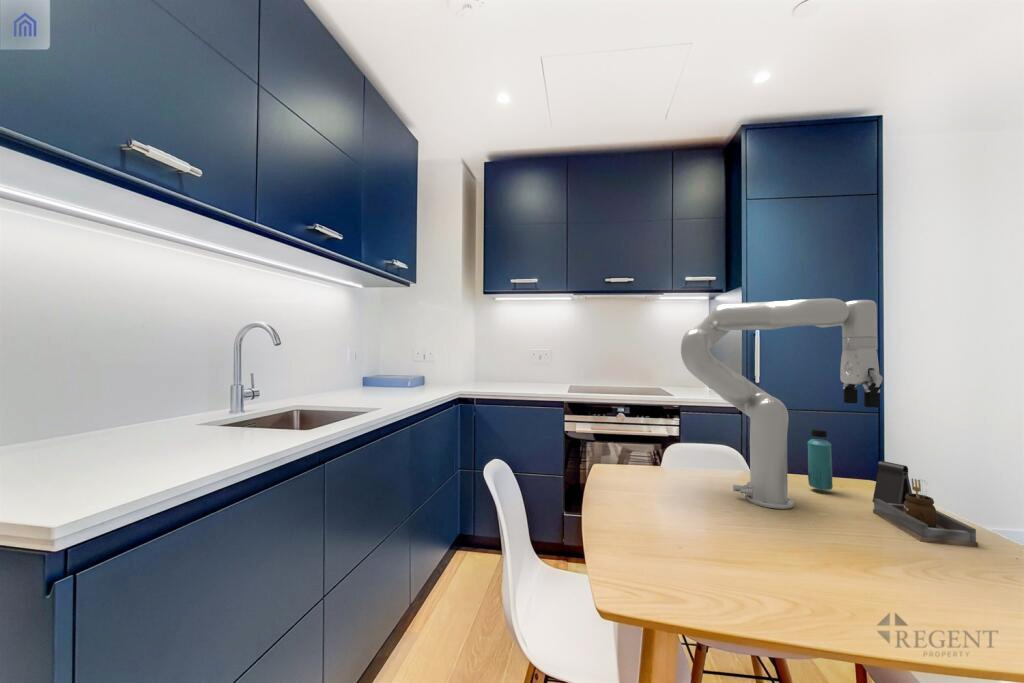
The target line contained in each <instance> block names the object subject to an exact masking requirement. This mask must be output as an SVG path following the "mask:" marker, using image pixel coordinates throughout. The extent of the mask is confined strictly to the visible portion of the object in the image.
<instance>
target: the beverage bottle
mask: <svg viewBox="0 0 1024 683" xmlns="http://www.w3.org/2000/svg"><path fill="white" fill-rule="evenodd" d="M810 432H811V433H810V436H811V437H815V438H811V439H809V440H808V441H807V469H808V470H807V481H808V486H810V487H811V488H813V489H818V490H822V491H823V490H825V491H830V490H832V489H833V487H834V486H833V485H834V484H833V475H834V474H833V472H834V471H833V461H832V460H833V459H832V444H831V443H830V442H829V441H828V440H825V439H820V438H827V437H828V435H827V430H825V429H819V428H812V429H811V431H810ZM816 437H817V438H816Z"/></svg>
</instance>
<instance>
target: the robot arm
mask: <svg viewBox="0 0 1024 683" xmlns="http://www.w3.org/2000/svg"><path fill="white" fill-rule="evenodd" d="M877 314H878V308H877V303H876V301H874V300H871V299H856V300H849V301H843V300H842V299H838V298H835V297H834V298H829V297H828V298H808V299H807V298H806V299H805V298H804V299H792V300H772V301H755V302H754V301H752V302H731V303H730V302H729V303H721V304H718V305H717V306H715V307H714V308H713V309H712V311H711V313H710V314H708V315H707V316H706V317H705V318H704V319H703V320H702V321H700V322H699V323H698V324H697V325H696V326H694V327H693V328H691V329H689V330H688V331H686V332H685V333H684V334H683V337H682V340H681V345H680V346H681V347H680V355H681V359H682V362H683V364H684V366H685V367H686V369H687V370H688V371H689V373H691V374H692V375H693V376H694V377H695V378H696V379H697V380H698V381H700V382H701V383H703V384H704V385H706V386H707V387H708V388H710V389H711V391H713V392H715V393H716V394H717V395H718V396H719V397H721V399H723V400H724V401H725V402H728V403H729V404H730V405H732V406H733V407H735V409H737V410H739V411H740V412H742V413H743V414H745V415H746V416H748V417H749V419H750V420H749V423H750V424H749V467H750V468H749V474H750V475H749V477H750V478H749V479H750V480H749V481H747V482H746V484H744V485H740V484H733V485H732V491H733V492H739V493H740V494H743V495H744V498H745V500H746V501H748V502H750V503H752V504H755V505H757V506H761V507H765V508H770V509H779V510H780V509H781V510H787V509H791V508H794V507H795V501H794V500H793V499H792V498H790V497H789V496H788V489H789V488H788V430H789V429H788V428H789V412H788V409H787V407H786V405H785V404H784V403H783V402H782V401H781V400H780V399H778V398H777V397H775V396H772V395H770V394H769V393H768V392H766V391H764V390H763V389H762V388H760V387H759V386H757V385H756V384H754V383H753V382H752V381H750V380H749V379H748V378H747V377H746V376H744V375H742V374H739V373H738V372H736V371H734V370H733V369H731V368H730V367H729V366H727V365H725V364H724V363H723V362H721V361H720V360H719V359H717V358H716V357H714V355H713V354H712V353H711V351H710V350H711V349H710V348H712V347H713V346H714V345H715V344H717V343H718V342H719V341H720V340H721V339H723V337H725V336H726V335H727V334H728V333H730V332H731V331H741V330H742V331H753V330H754V331H757V330H758V331H759V330H761V331H763V330H766V331H768V330H778V329H784V328H788V327H790V328H791V327H801V326H802V327H805V326H814V327H817V328H831V327H838V326H840V327H841V334H842V335H841V337H842V339H841V340H842V353H841V357H840V358H841V359H840V371H839V372H840V373H839V374H840V376H839V378H840V381H841V384H842V389H843V403H845V404H858V389H856V388H857V387H858V385H862V387H863V389H864V392H863V406H864V407H865V408H877V409H878V408H880V393H881V387H882V383H883V380H884V378H883V376H882V375H881V374H880V366H879V365H880V364H879V359H878V351H877V350H879V349H878V315H877Z"/></svg>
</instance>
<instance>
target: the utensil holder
mask: <svg viewBox="0 0 1024 683" xmlns="http://www.w3.org/2000/svg"><path fill="white" fill-rule="evenodd" d="M924 482H925V480H924V479H917V478H915V479H914V478H911V490H912V491H915V493H913V492H912V493H908V494H906V496H905V499H906V501H905V502H904V512H905V513H906V514H908V515H910V516H912V517H914V518H916V519H918V520H919V521H921V522H923V523H925V524H927V525H928V528H935V527H936V510H937V509H936V507H935V500H934V498H932V497H931V496H927V494H928V490H925V492H923V490H922V486H921V483H924ZM925 485H928V482H925ZM921 491H922V492H921Z"/></svg>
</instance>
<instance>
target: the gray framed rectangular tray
mask: <svg viewBox="0 0 1024 683" xmlns="http://www.w3.org/2000/svg"><path fill="white" fill-rule="evenodd" d="M873 506H874V507H873V508H872V513H873V514H874V515H876V516H878V517H879V518H880V519H883V520H884V521H886V522H888V523H889V524H891V525H893V526H894V527H896V528H898V529H899V530H901V531H903V532H904V533H906V534H908V535H909V536H911V537H913V538H914V539H916V540H917V541H920V542H924V543H925V542H926V543H935V544H947V545H953V546H955V545H956V546H964V547H967V546H968V547H977V548H978V547H979V542H978V541H977V529H976V528H975V527H972V526H970V525H968V524H966V523H964V522H961V521H960V520H957V519H956V518H953V517H951V516H950V515H949V516H948V515H947V514H945V513H944V512H941V511H938V510H937V509H936V527H935V528H928V525H927V524H925V523H923V522H921V521H919V520H918V519H916V518H914V517H912V516H910V515H908V514H906V513H905V512H904V504H892V503H886V502H884V501H882V500H880V499H874V502H873Z"/></svg>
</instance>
